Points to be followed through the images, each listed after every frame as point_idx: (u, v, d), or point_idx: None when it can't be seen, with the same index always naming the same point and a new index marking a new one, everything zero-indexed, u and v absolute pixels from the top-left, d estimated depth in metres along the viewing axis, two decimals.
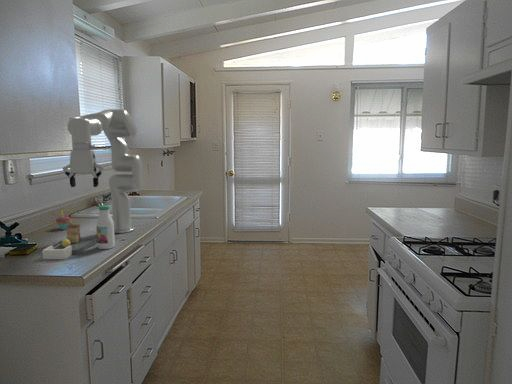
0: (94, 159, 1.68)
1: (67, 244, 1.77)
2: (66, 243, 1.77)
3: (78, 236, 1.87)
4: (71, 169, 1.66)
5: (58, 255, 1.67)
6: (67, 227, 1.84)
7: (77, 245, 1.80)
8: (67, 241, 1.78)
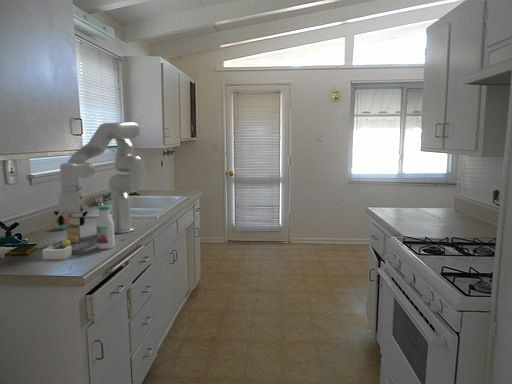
0: (81, 200, 1.84)
1: (67, 244, 1.77)
2: (66, 243, 1.77)
3: (78, 236, 1.87)
4: (59, 209, 1.82)
5: (58, 255, 1.67)
6: (67, 227, 1.84)
7: (77, 245, 1.80)
8: (67, 241, 1.78)
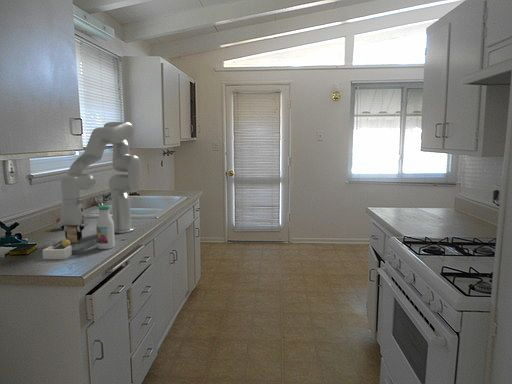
0: (82, 212, 1.85)
1: (67, 244, 1.77)
2: (66, 243, 1.77)
3: None
4: (61, 222, 1.83)
5: (58, 255, 1.67)
6: (67, 227, 1.84)
7: (77, 245, 1.80)
8: (67, 241, 1.78)
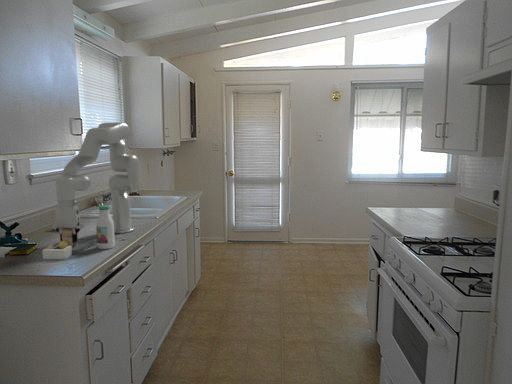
0: (78, 214, 1.80)
1: None
2: None
3: None
4: (56, 224, 1.78)
5: (58, 255, 1.67)
6: (62, 230, 1.79)
7: (77, 245, 1.80)
8: (64, 247, 1.75)
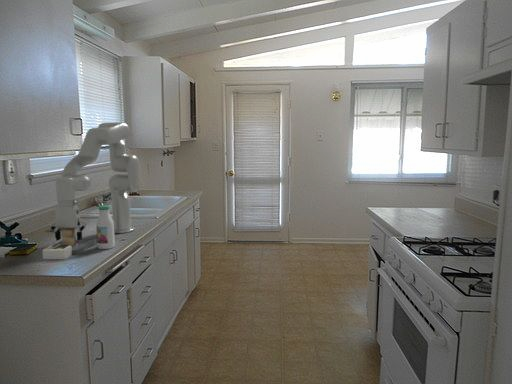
0: (78, 214, 1.80)
1: None
2: None
3: (74, 239, 1.82)
4: (56, 224, 1.78)
5: (58, 255, 1.67)
6: (62, 230, 1.79)
7: (77, 245, 1.80)
8: None
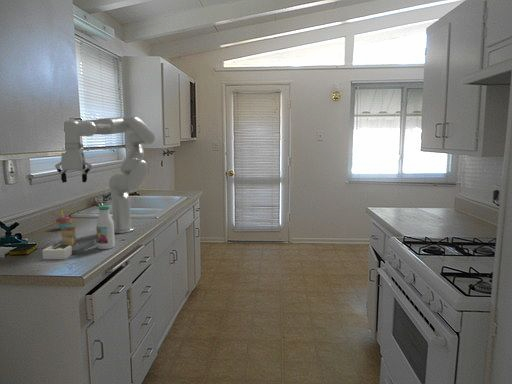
0: (83, 157, 1.88)
1: None
2: (61, 248, 1.73)
3: (74, 239, 1.82)
4: (62, 166, 1.87)
5: (58, 255, 1.67)
6: (62, 230, 1.79)
7: (77, 245, 1.80)
8: None
